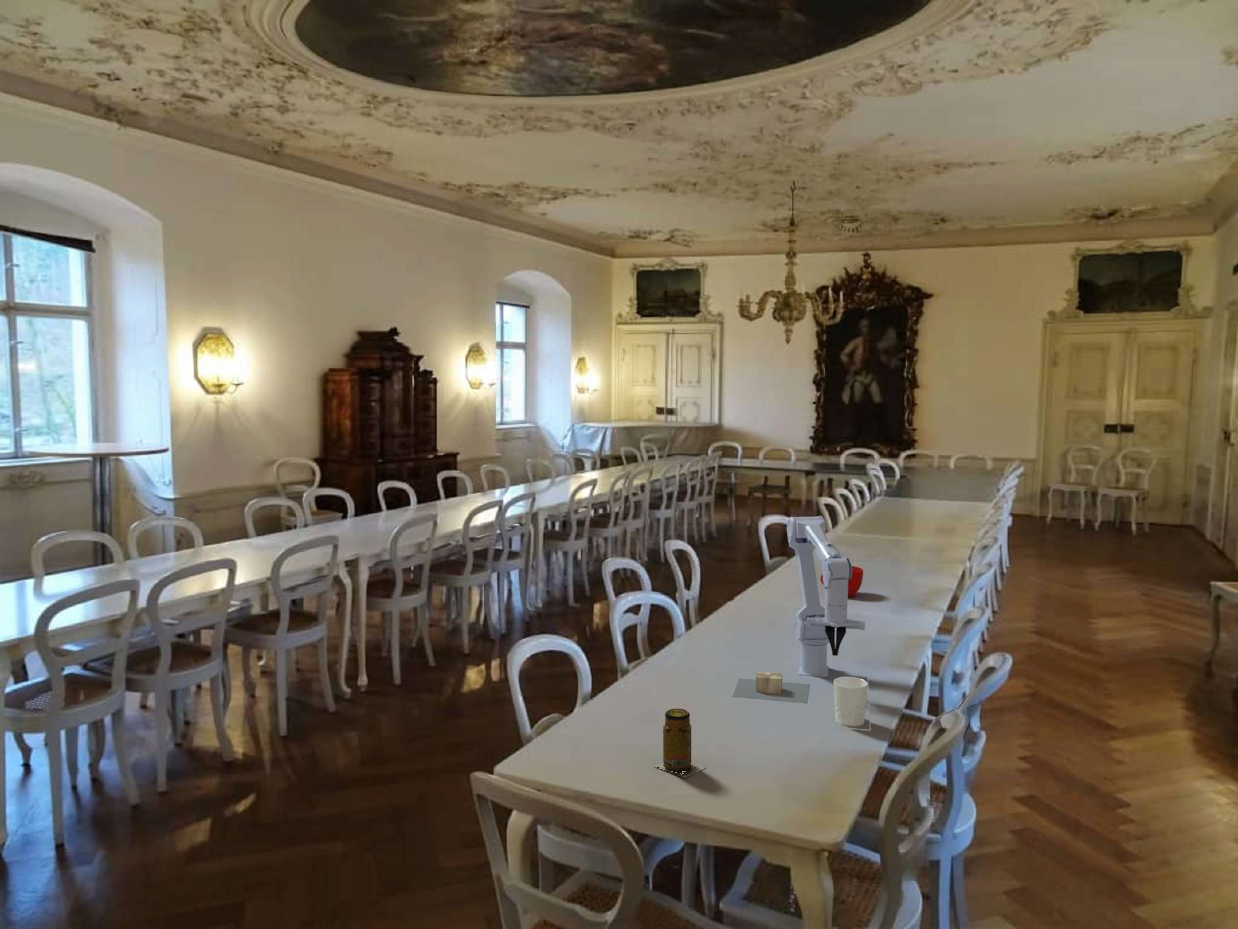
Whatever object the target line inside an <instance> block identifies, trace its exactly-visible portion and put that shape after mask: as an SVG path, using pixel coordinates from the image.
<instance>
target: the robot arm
mask: <svg viewBox="0 0 1238 929" xmlns="http://www.w3.org/2000/svg"><path fill="white" fill-rule="evenodd" d="M826 528H827V525H826V521H825V519H824V517H823V516H822V515H818V516H790V517H789V518H788V520H787V522H786V535H787V541H788V546H789V548H791V549H793V550H794V554H795V558H796V565H797V571H798V580H799V586H800V592H801V593H800V594H801V602H802V608H800V609H799V610H798V611H797V612H796V613H795V615H794V633H795V634H794V635H795V638H796V639H797V640H798V641H799V642H800V663H799V666H798V667H799V668H798V673H797V674H798V675H799V676H807V677H808V676H810V677H819V678H822V677H823V678H827V677H829V667H830V666H829V665H828V644H830V649H831V655H832V656H833V657H837V656H839V651H840V646H841V644H842V641H843V640H844V637H845V635H846V634H847V629H848V630H849V629H850V630H852V629H853V630H860V631H865V629H866V628H865V626H866V623H865V621H864V620H857V619H853V618H851V619H850V618H848V599H849V597H848V580H849V579H851V576H852V566H853V565H852V562H851V559H850V557H848V556H843V555H842V554H841V553H840V551H839V550H838V548H837V546H836V544H835V543H834V542H832V541H829V540H828V538H827V536H826V530H827V529H826ZM814 556H816V558H817V560H818V561H819V563H820V565H821V573H822V574H823V583H824V585H823V586H824V588H825V589H824V607H823V605H821V601H820V593H819V586H818V580H817V579H818V578H817V572H816V566H815V564H816V563H815V558H814ZM822 574H821V575H822ZM847 579H848V580H847Z"/></svg>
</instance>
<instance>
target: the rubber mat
mask: <svg viewBox="0 0 1238 929" xmlns="http://www.w3.org/2000/svg"><path fill="white" fill-rule="evenodd" d="M810 686H811V685H810V683H809V684H808V683H800V682H799V683H796V682H788V681H787V682H785V681H782V691H781V694H777V693H766V692H756V679H751V678H750V679H748V678H739V677H738V680H737V683H736V685H735V688H734V691H733V694H732V698H743V699H752V700H753V699H756V700H764V701H776V702H777V701H778V702H790V703H799V704H801V703H802V704H808V699H809V693H810Z"/></svg>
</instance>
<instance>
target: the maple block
mask: <svg viewBox="0 0 1238 929" xmlns="http://www.w3.org/2000/svg"><path fill="white" fill-rule="evenodd" d="M755 680H756V692H766V693H777V694H781V691H782V682H783V674H782V673H776V672H764V671H763V672H762V671H757V673H756V675H755Z"/></svg>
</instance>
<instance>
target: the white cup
mask: <svg viewBox="0 0 1238 929" xmlns="http://www.w3.org/2000/svg"><path fill="white" fill-rule="evenodd" d="M868 685H869V683H868V682H867V681H866V680H865V679H863V678H860V677H857V676H856V677H855V676H839V677H836V678H834V680H833V698H834V699H833V701H834V702H833V703H834V714H835V715H834V716H835V717H834V719H835V722H836V723H838V724H840V725H842V726H846V727H861V726H862V725H864V724H865V718H866V710H867V709H866V708H867V702H868V701H867V698H868Z"/></svg>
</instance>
